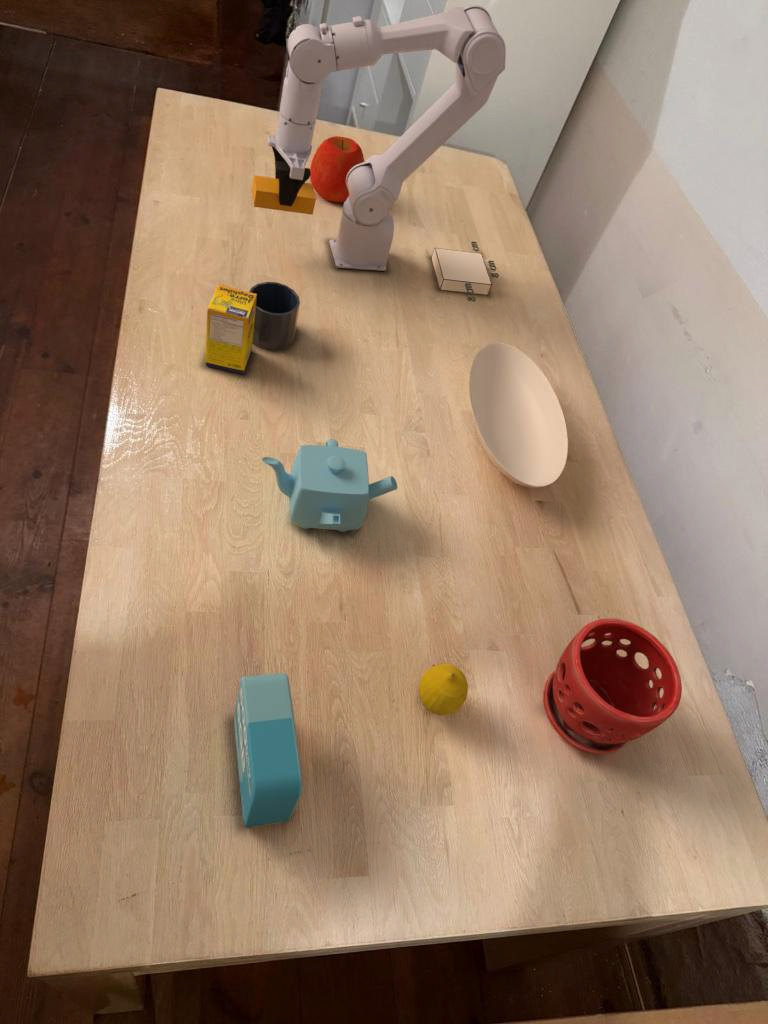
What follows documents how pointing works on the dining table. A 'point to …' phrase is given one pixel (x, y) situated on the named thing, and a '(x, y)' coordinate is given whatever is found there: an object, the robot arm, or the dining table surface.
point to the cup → (274, 315)
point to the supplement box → (230, 328)
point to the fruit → (443, 689)
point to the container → (462, 271)
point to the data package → (267, 750)
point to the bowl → (517, 416)
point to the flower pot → (610, 687)
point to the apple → (334, 167)
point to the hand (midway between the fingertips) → (283, 195)
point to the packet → (268, 196)
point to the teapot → (329, 486)
